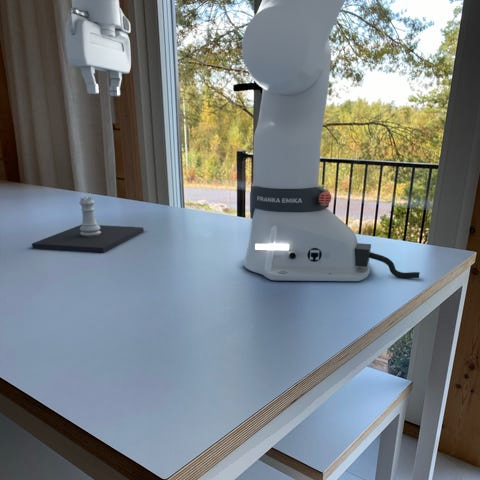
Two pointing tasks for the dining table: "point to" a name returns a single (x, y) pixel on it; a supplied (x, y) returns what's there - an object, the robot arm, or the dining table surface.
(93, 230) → the rook chess piece
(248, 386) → the dining table surface
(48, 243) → the mat
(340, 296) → the dining table surface
